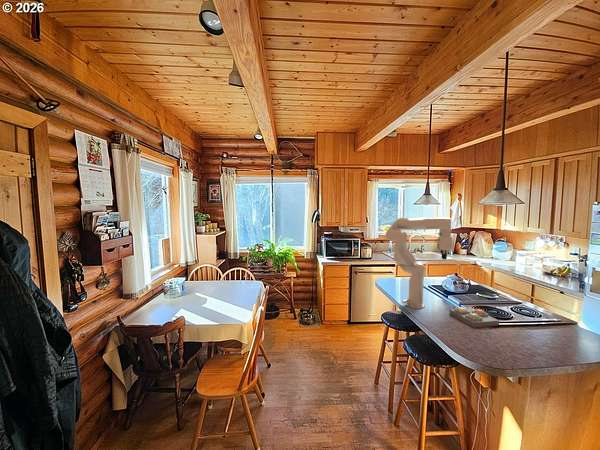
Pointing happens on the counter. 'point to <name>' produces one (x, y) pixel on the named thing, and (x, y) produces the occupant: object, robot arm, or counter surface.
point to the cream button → (462, 309)
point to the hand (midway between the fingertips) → (444, 258)
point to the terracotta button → (479, 311)
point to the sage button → (473, 315)
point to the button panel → (481, 321)
